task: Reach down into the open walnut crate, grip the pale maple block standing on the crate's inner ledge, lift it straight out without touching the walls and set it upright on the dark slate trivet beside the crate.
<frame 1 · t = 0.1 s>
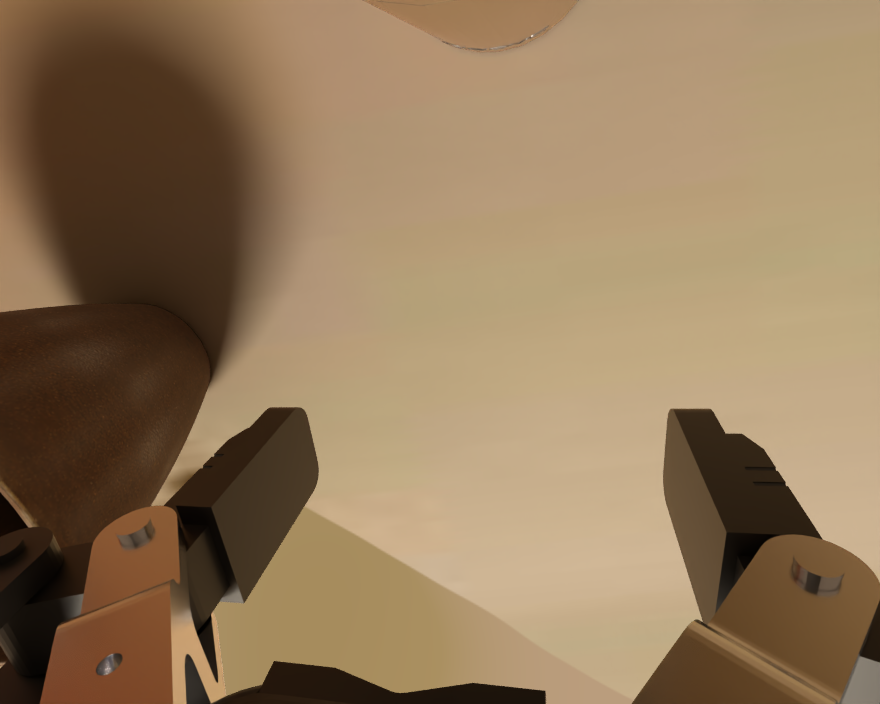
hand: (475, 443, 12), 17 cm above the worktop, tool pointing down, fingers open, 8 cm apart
plant pot: (159, 352, 34), on the worktop
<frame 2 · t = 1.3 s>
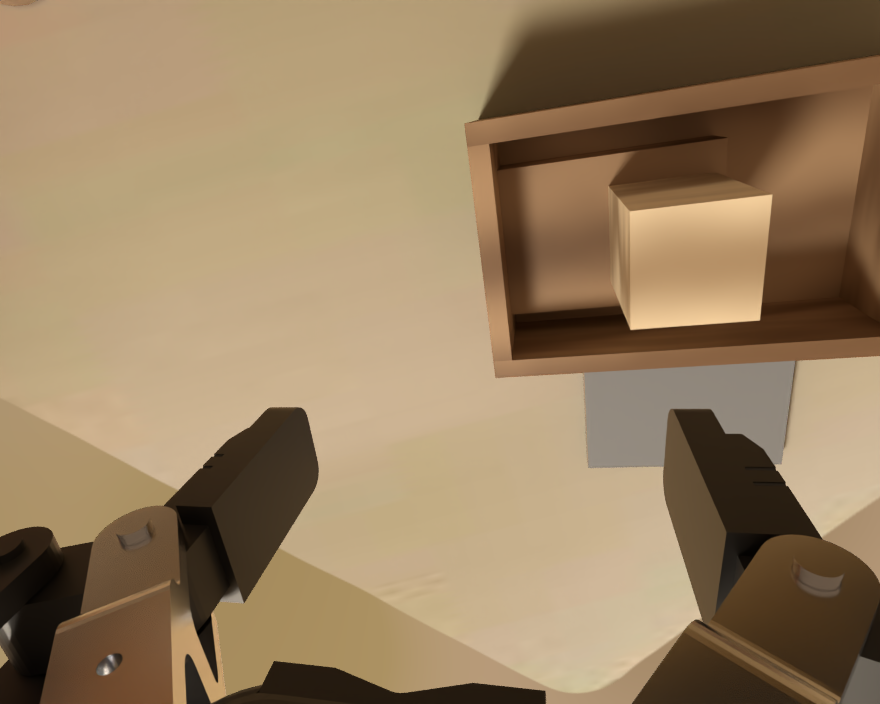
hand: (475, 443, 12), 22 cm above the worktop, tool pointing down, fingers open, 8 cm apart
walnut crate: (667, 216, 30), on the worktop
slate trivet: (679, 400, 34), on the worktop
maple block: (659, 229, 27), point 3 cm above the worktop, touching walnut crate
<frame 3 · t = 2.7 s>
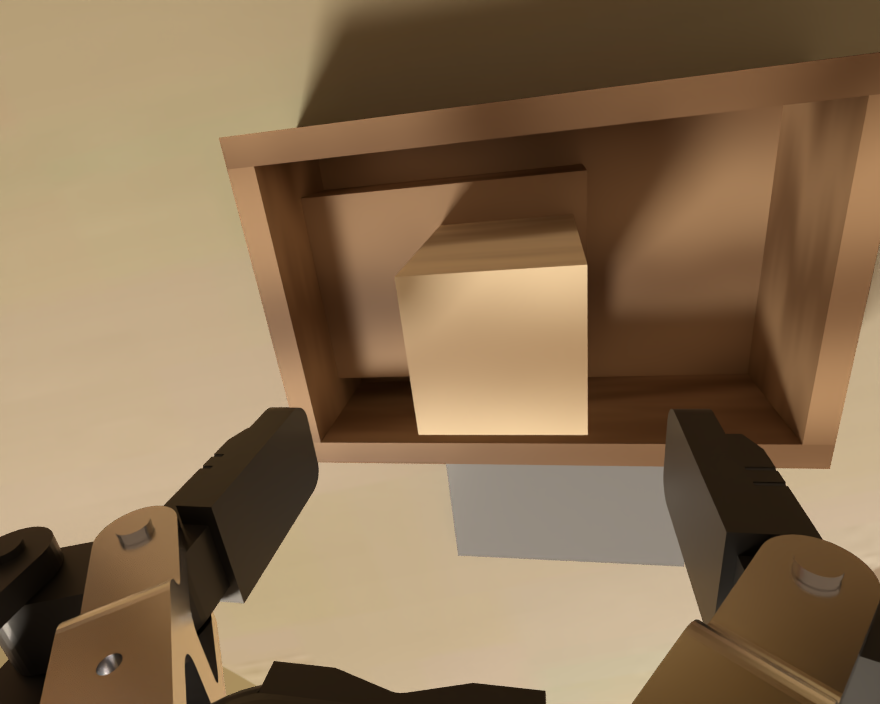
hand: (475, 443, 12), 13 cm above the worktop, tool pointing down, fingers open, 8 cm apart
walnut crate: (535, 262, 23), on the worktop
slate trivet: (563, 482, 28), on the worktop
maple block: (508, 283, 21), point 3 cm above the worktop, touching walnut crate
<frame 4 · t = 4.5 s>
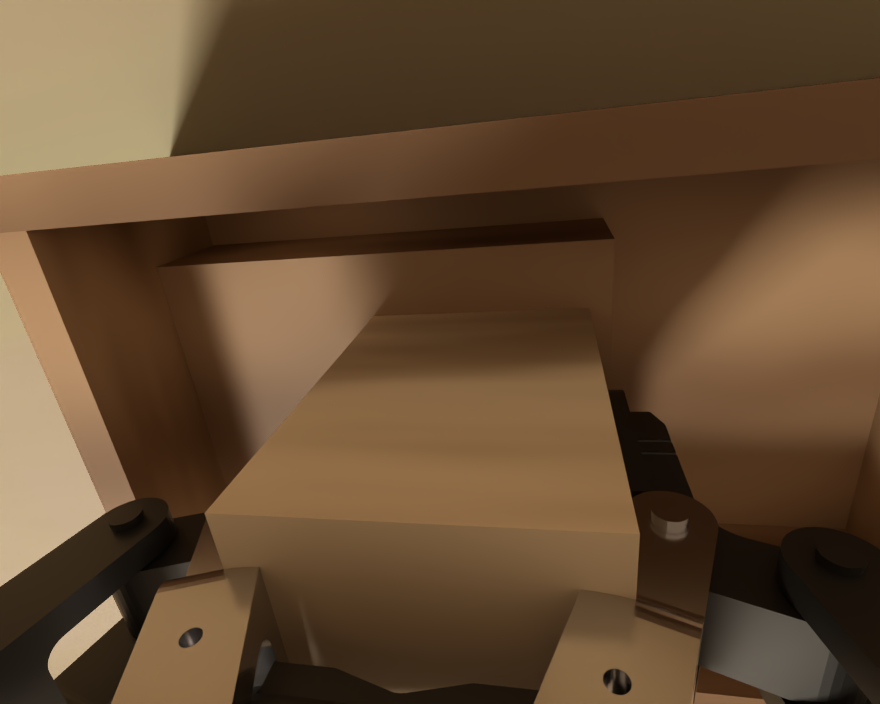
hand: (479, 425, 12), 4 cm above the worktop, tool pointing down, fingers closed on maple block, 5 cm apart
walnut crate: (528, 356, 16), on the worktop
maple block: (484, 406, 13), point 3 cm above the worktop, touching gripper, walnut crate
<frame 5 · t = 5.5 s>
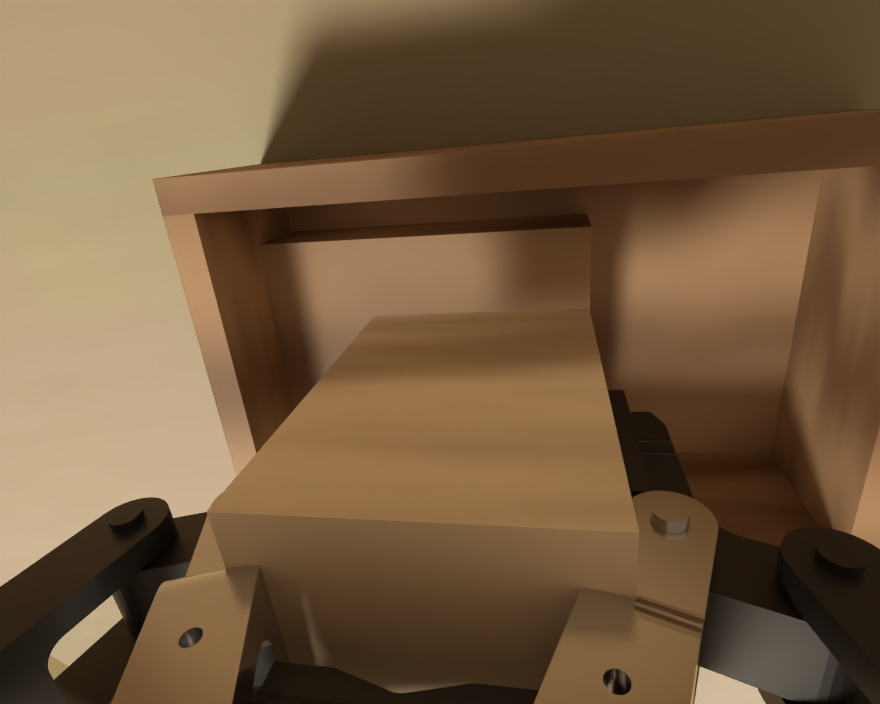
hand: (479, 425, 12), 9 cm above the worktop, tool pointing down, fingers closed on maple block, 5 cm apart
walnut crate: (530, 320, 20), on the worktop
maple block: (484, 406, 13), point 8 cm above the worktop, touching gripper
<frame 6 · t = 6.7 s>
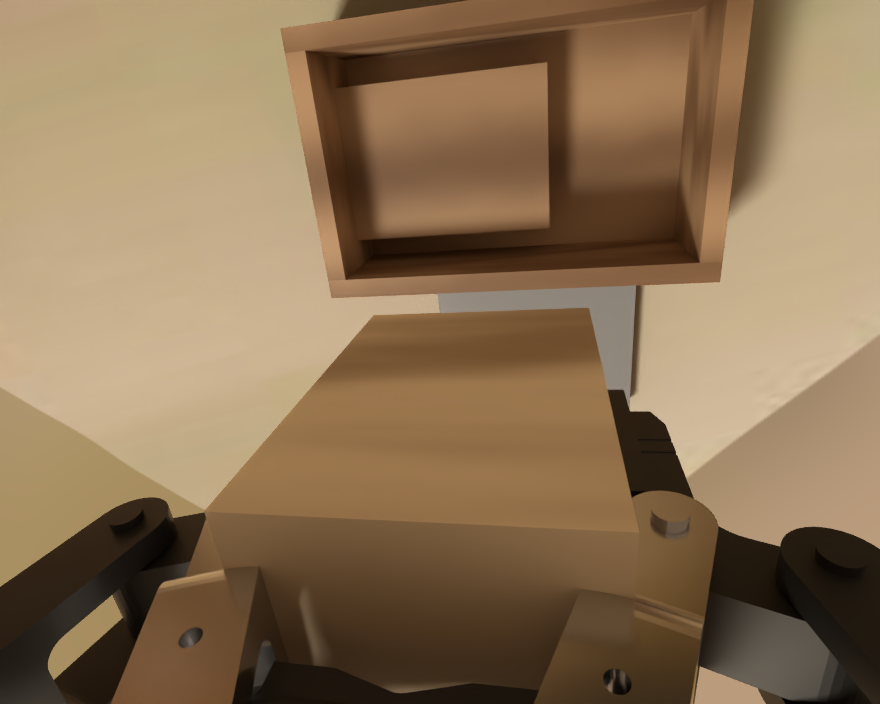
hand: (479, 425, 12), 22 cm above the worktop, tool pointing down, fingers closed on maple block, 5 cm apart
walnut crate: (512, 149, 30), on the worktop
slate trivet: (535, 341, 35), on the worktop
maple block: (484, 406, 13), point 21 cm above the worktop, touching gripper
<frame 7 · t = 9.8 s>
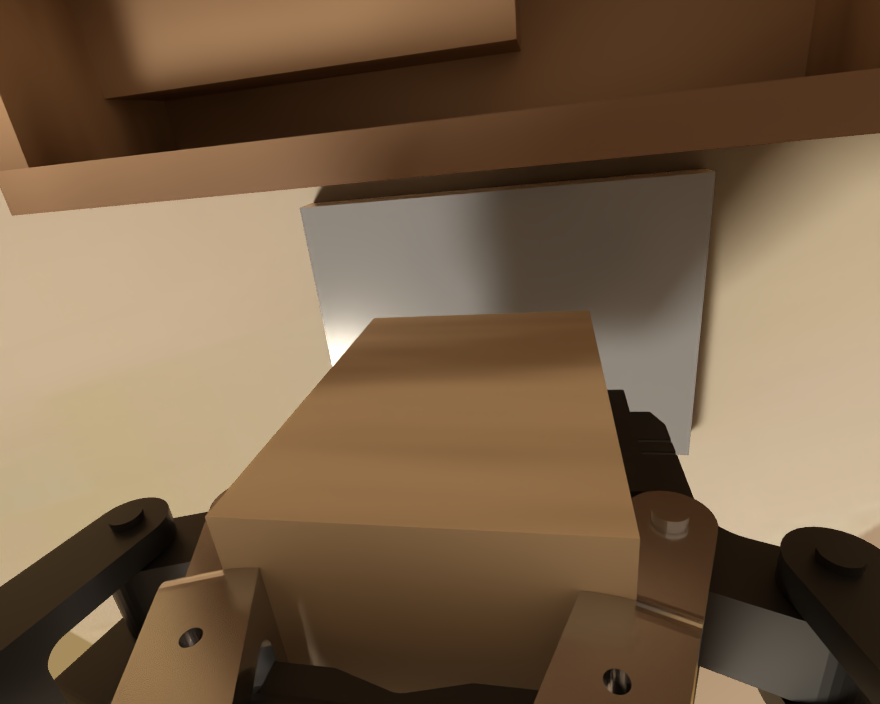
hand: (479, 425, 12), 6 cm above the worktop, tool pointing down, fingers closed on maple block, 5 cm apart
slate trivet: (502, 324, 18), on the worktop
maple block: (484, 408, 13), point 5 cm above the worktop, touching gripper
when the fingers open (3 cm above the worktop, at t = 11.4 s): maple block drops 1 cm, resting on slate trivet.
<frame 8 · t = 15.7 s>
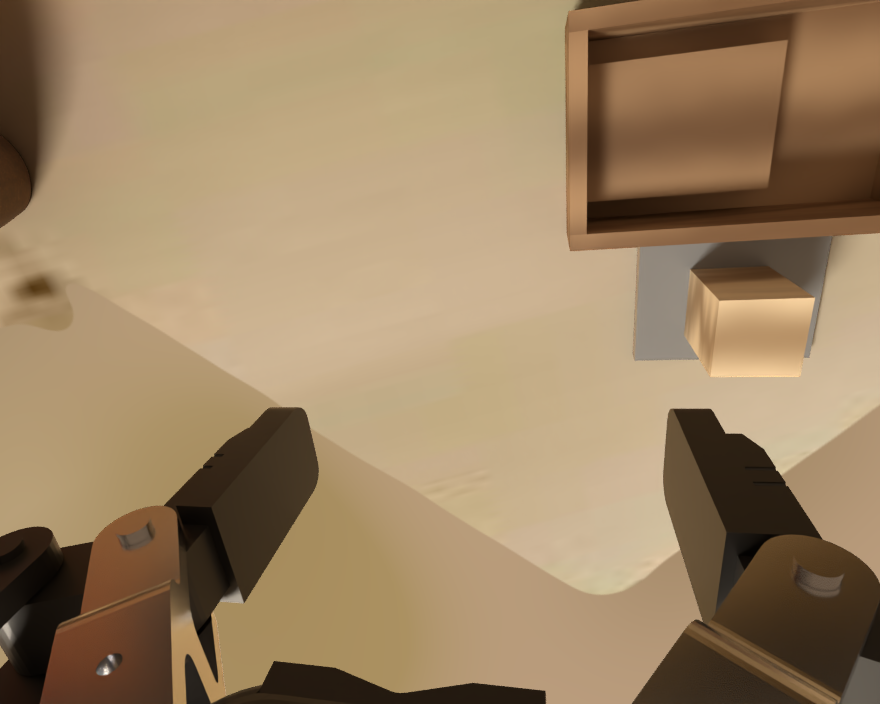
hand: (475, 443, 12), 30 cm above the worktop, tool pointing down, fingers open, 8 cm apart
walnut crate: (724, 121, 34), on the worktop
slate trivet: (721, 297, 39), on the worktop
maple block: (724, 302, 38), point 1 cm above the worktop, touching slate trivet
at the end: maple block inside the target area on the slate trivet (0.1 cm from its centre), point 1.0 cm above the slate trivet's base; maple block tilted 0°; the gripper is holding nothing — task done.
